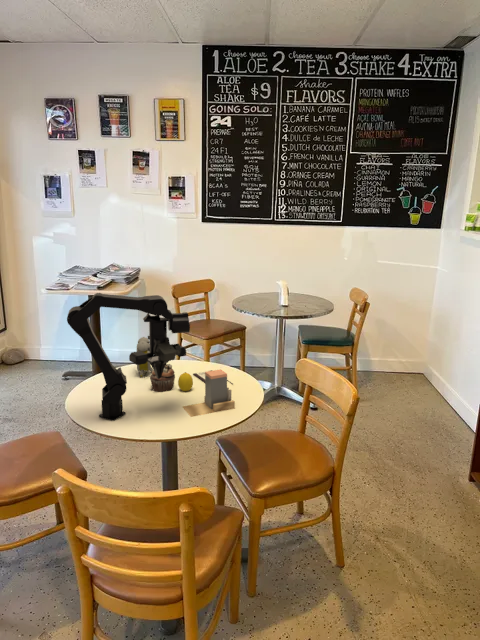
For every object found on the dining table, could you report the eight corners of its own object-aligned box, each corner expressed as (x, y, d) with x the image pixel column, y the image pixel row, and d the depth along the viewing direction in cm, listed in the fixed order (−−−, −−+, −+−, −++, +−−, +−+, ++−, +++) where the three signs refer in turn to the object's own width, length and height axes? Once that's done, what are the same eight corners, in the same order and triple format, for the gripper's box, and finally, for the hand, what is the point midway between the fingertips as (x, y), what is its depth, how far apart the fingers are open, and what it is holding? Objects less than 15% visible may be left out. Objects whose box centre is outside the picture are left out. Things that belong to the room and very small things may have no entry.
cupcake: (177, 384, 186) (177, 360, 183) (171, 393, 176) (171, 368, 174) (154, 383, 187) (153, 359, 184) (147, 392, 177) (146, 367, 175)
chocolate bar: (213, 387, 181) (192, 373, 196) (213, 390, 182) (192, 375, 196) (233, 383, 186) (211, 370, 201) (233, 386, 186) (211, 372, 201)
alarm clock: (138, 369, 202) (137, 335, 199) (154, 368, 203) (153, 335, 200) (137, 378, 191) (135, 343, 188) (154, 377, 192) (153, 342, 189)
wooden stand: (191, 419, 155) (190, 399, 154) (181, 409, 163) (181, 390, 161) (235, 410, 162) (235, 392, 161) (224, 401, 170) (224, 383, 168)
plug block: (211, 409, 161) (211, 376, 158) (205, 403, 165) (205, 371, 162) (226, 406, 164) (227, 373, 161) (220, 401, 168) (220, 369, 165)
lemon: (179, 395, 175) (179, 375, 173) (177, 390, 180) (177, 370, 178) (194, 394, 176) (194, 374, 174) (191, 388, 181) (191, 369, 179)
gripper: (143, 344, 143) (144, 391, 147) (195, 335, 155) (194, 379, 158) (127, 335, 152) (129, 381, 156) (177, 328, 163) (178, 370, 167)
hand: (158, 378), depth 159 cm, fingers closed
